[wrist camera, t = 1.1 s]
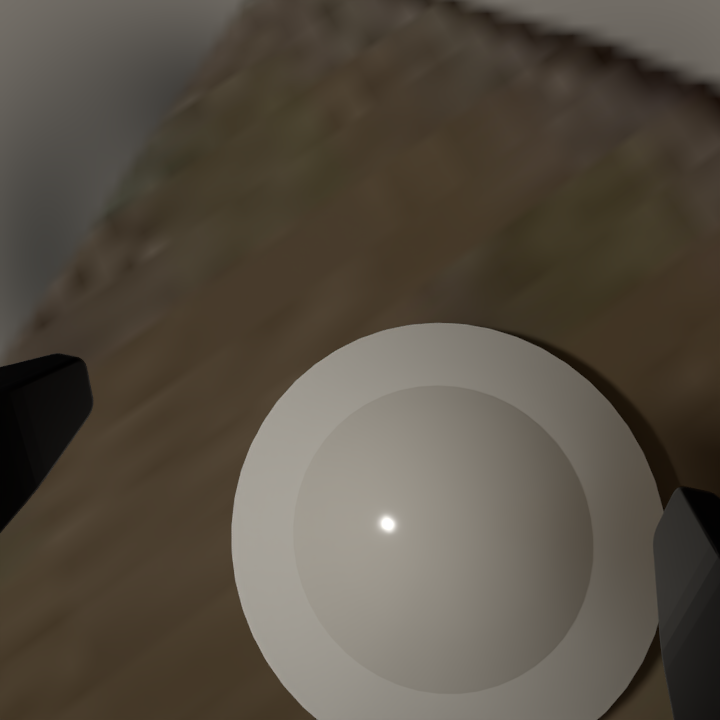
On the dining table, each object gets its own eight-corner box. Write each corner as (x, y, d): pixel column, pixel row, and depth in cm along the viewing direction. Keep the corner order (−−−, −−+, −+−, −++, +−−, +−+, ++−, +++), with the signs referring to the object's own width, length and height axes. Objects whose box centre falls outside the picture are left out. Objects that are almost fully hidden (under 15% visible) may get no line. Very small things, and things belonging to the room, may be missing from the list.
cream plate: (747, 498, 20) (764, 501, 19) (481, 859, 20) (483, 883, 19) (401, 256, 24) (399, 246, 23) (165, 555, 23) (151, 560, 22)
